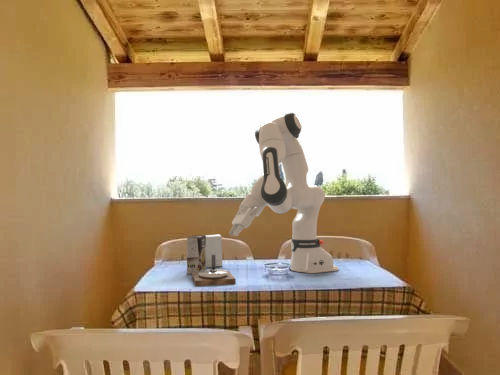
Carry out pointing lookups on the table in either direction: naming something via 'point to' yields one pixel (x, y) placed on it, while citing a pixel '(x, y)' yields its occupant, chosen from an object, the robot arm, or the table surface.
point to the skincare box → (213, 249)
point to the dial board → (213, 280)
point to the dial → (213, 271)
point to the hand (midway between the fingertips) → (232, 235)
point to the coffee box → (196, 254)
